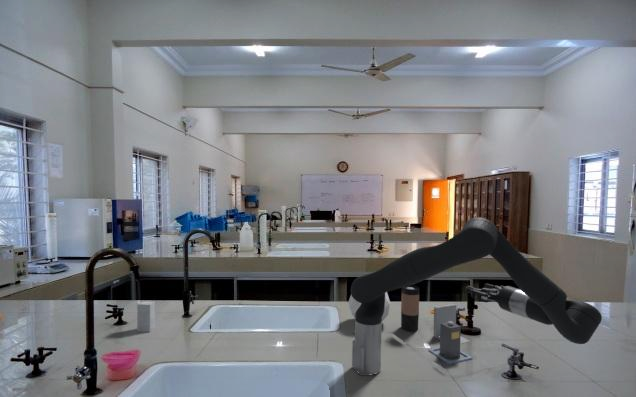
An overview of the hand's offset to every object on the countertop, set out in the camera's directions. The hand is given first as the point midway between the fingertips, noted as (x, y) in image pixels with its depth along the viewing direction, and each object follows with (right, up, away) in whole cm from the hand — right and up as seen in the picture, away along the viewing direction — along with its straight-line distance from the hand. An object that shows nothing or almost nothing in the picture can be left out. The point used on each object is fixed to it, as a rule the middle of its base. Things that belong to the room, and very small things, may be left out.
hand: (475, 287), depth 117 cm
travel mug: (-13, -29, +35) cm, 47 cm away
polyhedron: (-30, -29, +44) cm, 61 cm away
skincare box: (-130, -27, +33) cm, 137 cm away
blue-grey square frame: (-5, -30, +11) cm, 32 cm away
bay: (+2, -29, +24) cm, 38 cm away
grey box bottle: (-5, -29, +11) cm, 31 cm away
